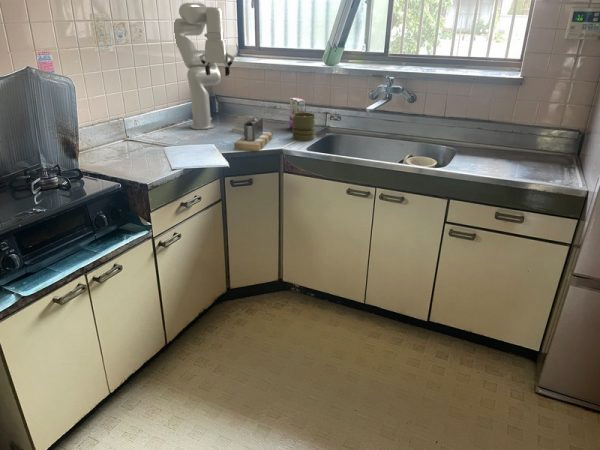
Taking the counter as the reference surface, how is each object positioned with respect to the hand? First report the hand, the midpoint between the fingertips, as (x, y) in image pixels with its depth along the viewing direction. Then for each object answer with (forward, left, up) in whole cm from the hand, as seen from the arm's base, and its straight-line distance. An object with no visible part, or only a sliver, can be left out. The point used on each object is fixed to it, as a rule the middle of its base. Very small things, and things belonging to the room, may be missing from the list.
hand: (217, 75), depth 215 cm
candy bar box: (-27, +34, -31) cm, 53 cm away
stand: (+8, +20, -30) cm, 37 cm away
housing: (+8, +20, -27) cm, 34 cm away
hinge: (-13, +10, -31) cm, 35 cm away
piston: (-9, +41, -31) cm, 52 cm away
